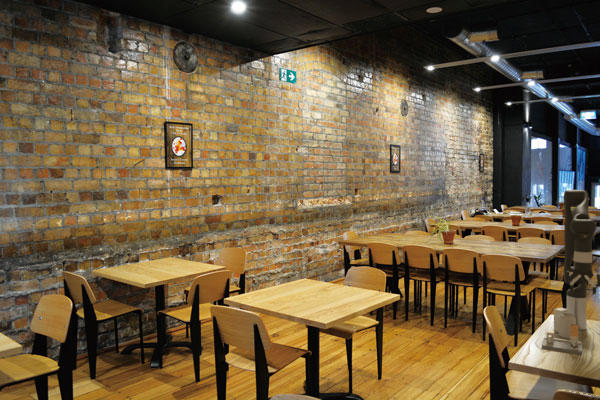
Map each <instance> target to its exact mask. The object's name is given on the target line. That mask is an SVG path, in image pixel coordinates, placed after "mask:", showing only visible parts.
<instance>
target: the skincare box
mask: <svg viewBox="0 0 600 400" xmlns="http://www.w3.org/2000/svg"><path fill="white" fill-rule="evenodd" d="M561 313H568V309H566V308H564V307H557V308H554V309H553V331H554V333H559V316H560V314H561Z"/></svg>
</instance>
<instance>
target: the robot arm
mask: <svg viewBox="0 0 600 400" xmlns="http://www.w3.org/2000/svg"><path fill="white" fill-rule="evenodd" d="M571 208H574V209H573V210H572V209H571ZM563 210H564V231H563V232H564V237H563V240H564V259H563V260H564V263H563V281H564V282H565V284H568V285H569V289H567V290H566V307H565V309H568V313H570V314H573V315H574V317H575V318H576V325H578V331H580V330H581V331H582V330H586V329H587V315H588V314H587V312H588V310H587V308H588V307H587V305H588V303H587V300H588V299H587V296H588V295H587V293H588V292H587V285H588V284H587V282H589V284H590V285H591V286H592V296H594V295H596V294H597V288H598V287H599V288H600V273H599V272H597V273H594V272H593V251H592V250H593V249H592V246H593V245H592V243H593V238H594V235H595V234H596V233H595V232H596V230H597V223H596V222H595V220H593V219H590V217H591V216H590V214H589V193H588V192H587V190H584V189H567V190H565V191H564V193H563ZM572 263H573V266H571V265H572ZM593 277H594V279H596V281H597V282H595V281H594V280H593V279H592V278H593ZM574 284H575V285H578V286H576V287H574Z"/></svg>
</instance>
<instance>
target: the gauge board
mask: <svg viewBox="0 0 600 400" xmlns="http://www.w3.org/2000/svg"><path fill="white" fill-rule="evenodd" d="M541 349H545V350H550V351H557V352H563V353H569V354H574V355H581V356H583V343H581V341H578V346H575V348H573V346H572V345H571V340H570V339H564V338H555V331H554V330H551V329H547V330H546V336H545V337H543V339H542V343H541Z"/></svg>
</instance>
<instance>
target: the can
mask: <svg viewBox="0 0 600 400" xmlns="http://www.w3.org/2000/svg"><path fill="white" fill-rule="evenodd" d="M571 324H575V325H576V318H575V317H574V315H573V314H570V313H561V314H560V316H559V332H558V335H559V336H560V338H561V339H564V340H571Z"/></svg>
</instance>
